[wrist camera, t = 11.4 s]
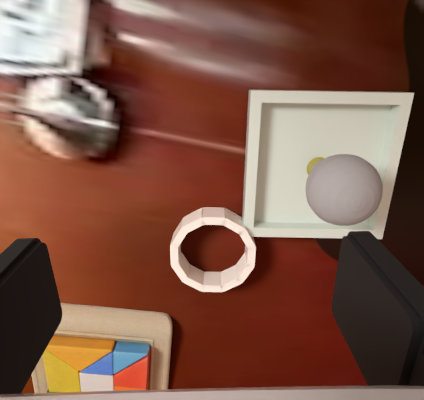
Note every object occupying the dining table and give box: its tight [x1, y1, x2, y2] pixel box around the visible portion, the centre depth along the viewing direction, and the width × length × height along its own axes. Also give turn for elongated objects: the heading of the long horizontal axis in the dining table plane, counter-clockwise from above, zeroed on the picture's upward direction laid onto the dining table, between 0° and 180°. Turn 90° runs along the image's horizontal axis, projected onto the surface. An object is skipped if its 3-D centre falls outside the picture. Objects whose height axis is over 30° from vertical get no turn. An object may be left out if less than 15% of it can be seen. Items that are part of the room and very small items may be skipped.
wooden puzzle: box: [31, 303, 172, 393], centre depth 41 cm, size 18×19×4 cm
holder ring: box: [170, 207, 256, 292], centre depth 35 cm, size 9×9×3 cm
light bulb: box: [305, 154, 383, 226], centre depth 28 cm, size 5×5×10 cm
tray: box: [242, 89, 414, 239], centre depth 32 cm, size 14×14×2 cm
